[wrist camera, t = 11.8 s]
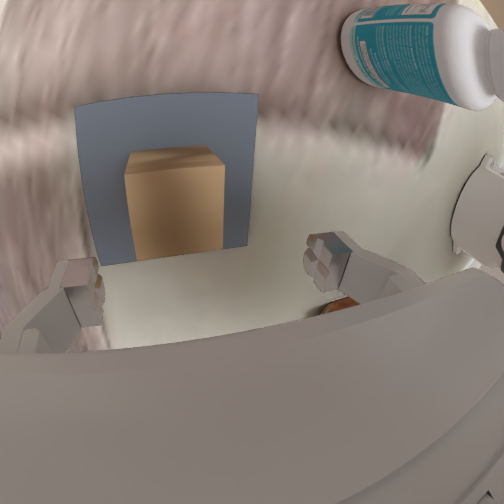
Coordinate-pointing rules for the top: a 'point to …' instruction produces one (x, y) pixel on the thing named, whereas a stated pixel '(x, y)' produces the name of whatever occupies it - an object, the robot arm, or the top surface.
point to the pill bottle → (427, 52)
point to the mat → (155, 137)
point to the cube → (175, 201)
